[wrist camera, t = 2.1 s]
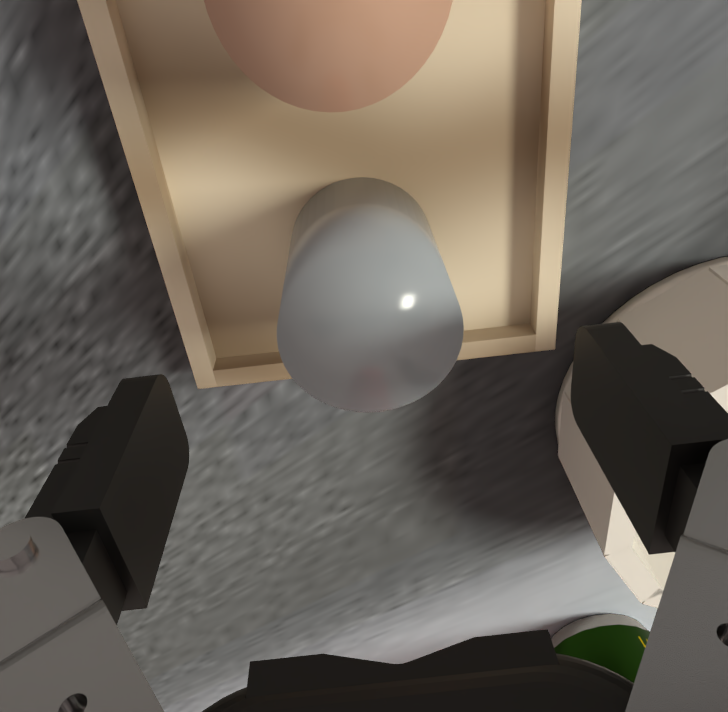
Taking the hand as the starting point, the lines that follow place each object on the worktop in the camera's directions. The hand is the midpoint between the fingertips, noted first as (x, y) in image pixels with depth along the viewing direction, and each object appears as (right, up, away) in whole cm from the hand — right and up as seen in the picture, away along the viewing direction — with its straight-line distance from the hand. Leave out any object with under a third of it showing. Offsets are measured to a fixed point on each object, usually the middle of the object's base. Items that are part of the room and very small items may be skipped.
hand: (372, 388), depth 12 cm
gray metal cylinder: (0, +4, +5) cm, 6 cm away
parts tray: (-1, +7, +4) cm, 8 cm away
